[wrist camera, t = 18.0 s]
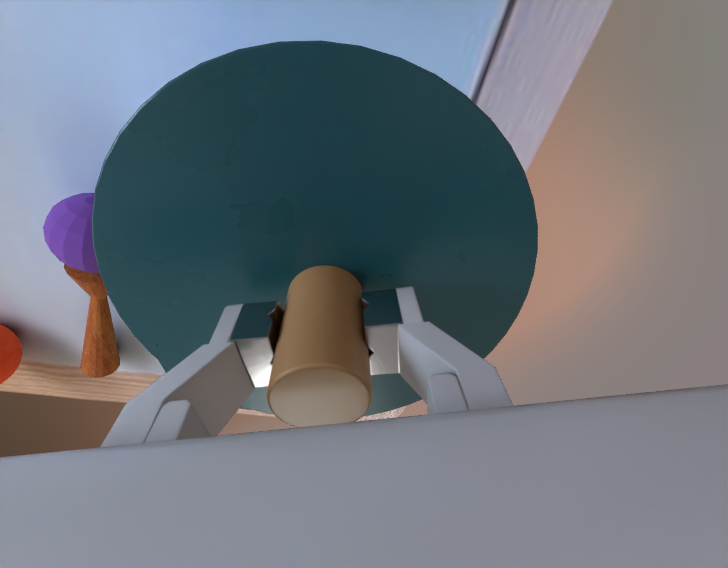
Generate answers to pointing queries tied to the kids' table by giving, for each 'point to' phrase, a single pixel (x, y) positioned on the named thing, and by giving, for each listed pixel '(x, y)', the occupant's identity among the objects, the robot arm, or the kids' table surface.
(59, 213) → the kendama
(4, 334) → the clementine
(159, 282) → the lid
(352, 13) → the kids' table surface
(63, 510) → the robot arm
